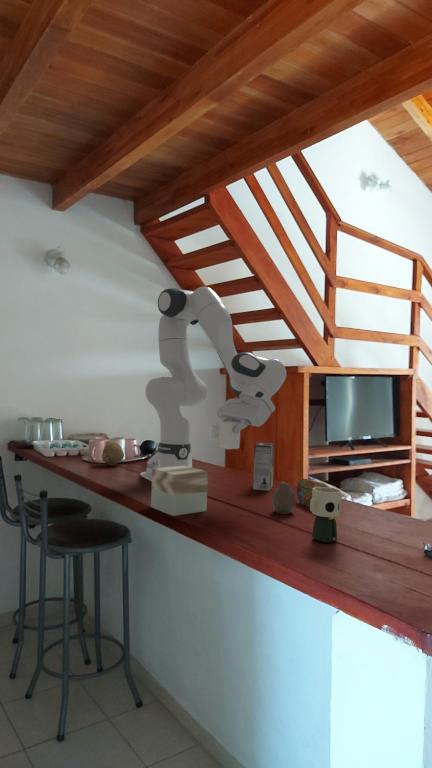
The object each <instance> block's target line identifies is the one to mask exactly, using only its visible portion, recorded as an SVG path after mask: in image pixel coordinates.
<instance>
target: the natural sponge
mask: <svg viewBox="0 0 432 768" xmlns="http://www.w3.org/2000/svg"><path fill="white" fill-rule="evenodd" d="M124 457H125V452H124V451H123V448H122V446H121V445H120V443H117V442H115V441H113V442H109V443H106V444H105V446H104V448H103V450H102V453H101V459H102V461H103V462H104V463H105V464H107V465H109V466H111V467H113V466H115V465H116V464H117V463H119V462H121V461H122V460H123V459H124Z"/></svg>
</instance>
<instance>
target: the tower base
mask: <svg viewBox="0 0 432 768" xmlns="http://www.w3.org/2000/svg"><path fill="white" fill-rule="evenodd" d="M150 496H151V498H150V508H153V509H155V510H157V511H160V512H162V513H165V514H167V515H170V516H172V517H175V516H181V515H188V514H189V515H190V514H195V513H200V512H201V513H203V512H207V504H208V502H207V501H208V491H207V492H201V493H193V494H185V495H177V496H173V495H170V494H167V493H164V492H161V491H159V490H156V489H153V488H152V487H151V494H150Z"/></svg>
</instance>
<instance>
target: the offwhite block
mask: <svg viewBox="0 0 432 768" xmlns="http://www.w3.org/2000/svg"><path fill="white" fill-rule="evenodd" d="M238 424H239V423H237V422H231V421H229V422H222V421H219V425H218V447H217V448H221V449H225V450H238V449H240V445H241V444H240V443H241V442H240V441H241V431H240V432H239V433H238V434H237V433H234V432H233V431H232V429H233V428H234V426H237V425H238Z"/></svg>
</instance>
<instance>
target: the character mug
mask: <svg viewBox="0 0 432 768" xmlns="http://www.w3.org/2000/svg"><path fill="white" fill-rule="evenodd" d="M342 499H343V498H342V490H341V489H338V488H334V487H329V486H327V487H315V488H313V490H312V499H311V500H310V507H309V510H310V512H311V513H312V514H313V515H314V516H315V517H314V522H313V527H312V533H311V537H312V538H313V539H315V540H317V541H319V542H320V541H321V542H323V543H333V539H334V542H336V541H338V530H337V528H338V527H337V520H336V518H337V517H339V516H340V514H341V507H342Z"/></svg>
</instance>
